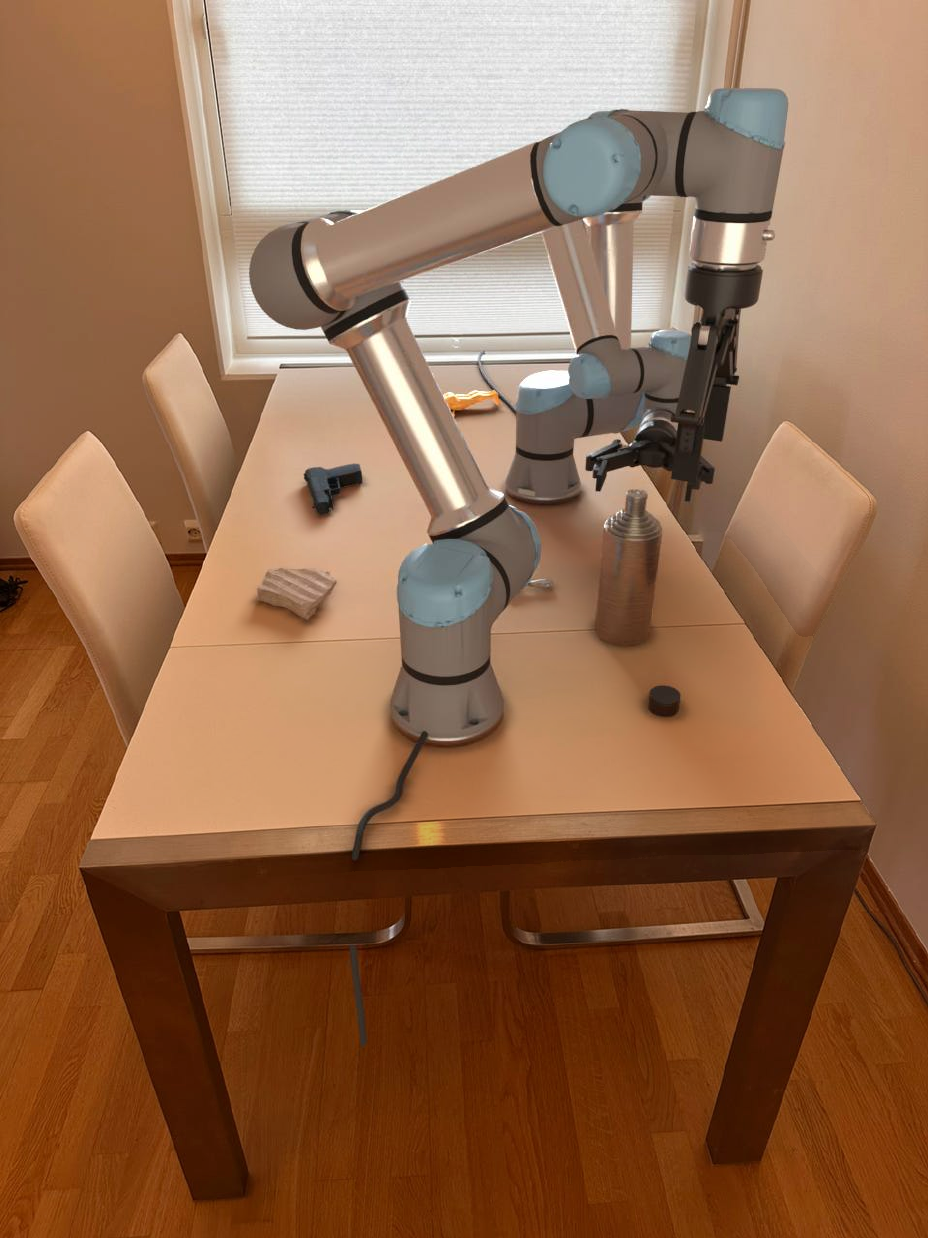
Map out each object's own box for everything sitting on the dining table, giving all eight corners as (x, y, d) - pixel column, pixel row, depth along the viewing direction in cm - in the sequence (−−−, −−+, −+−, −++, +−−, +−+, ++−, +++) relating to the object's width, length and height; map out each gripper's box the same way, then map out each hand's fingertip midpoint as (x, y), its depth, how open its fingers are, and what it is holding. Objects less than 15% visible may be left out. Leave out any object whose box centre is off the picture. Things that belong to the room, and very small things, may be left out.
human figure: (395, 413, 223) (394, 398, 221) (438, 390, 237) (438, 375, 235) (462, 429, 215) (462, 413, 213) (502, 404, 229) (503, 388, 227)
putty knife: (553, 587, 149) (553, 578, 148) (506, 592, 148) (507, 584, 147) (551, 584, 150) (551, 575, 149) (505, 589, 149) (505, 581, 148)
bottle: (592, 642, 135) (604, 502, 123) (598, 614, 142) (610, 479, 130) (647, 649, 134) (665, 508, 121) (651, 620, 141) (668, 484, 128)
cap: (684, 706, 122) (686, 693, 121) (668, 721, 119) (670, 707, 118) (658, 694, 124) (659, 681, 123) (642, 708, 122) (643, 695, 120)
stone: (346, 586, 150) (345, 572, 148) (309, 621, 140) (307, 607, 139) (280, 572, 154) (279, 559, 153) (240, 606, 145) (238, 592, 143)
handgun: (374, 509, 176) (313, 517, 173) (359, 474, 190) (302, 481, 188) (373, 494, 174) (311, 502, 172) (358, 460, 188) (301, 466, 186)
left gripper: (740, 290, 80) (707, 505, 92) (782, 245, 100) (750, 428, 111) (658, 283, 83) (636, 493, 94) (714, 241, 102) (690, 419, 114)
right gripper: (728, 467, 152) (723, 520, 135) (584, 453, 158) (561, 501, 141) (735, 425, 148) (731, 473, 131) (586, 412, 154) (563, 456, 137)
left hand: (698, 458), depth 103 cm, fingers open, 13 cm apart
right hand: (642, 488), depth 136 cm, fingers open, 13 cm apart
